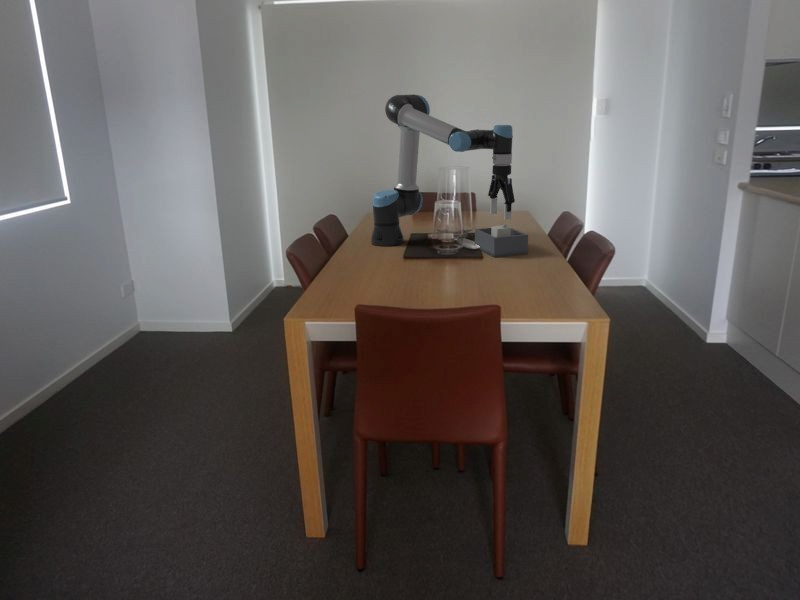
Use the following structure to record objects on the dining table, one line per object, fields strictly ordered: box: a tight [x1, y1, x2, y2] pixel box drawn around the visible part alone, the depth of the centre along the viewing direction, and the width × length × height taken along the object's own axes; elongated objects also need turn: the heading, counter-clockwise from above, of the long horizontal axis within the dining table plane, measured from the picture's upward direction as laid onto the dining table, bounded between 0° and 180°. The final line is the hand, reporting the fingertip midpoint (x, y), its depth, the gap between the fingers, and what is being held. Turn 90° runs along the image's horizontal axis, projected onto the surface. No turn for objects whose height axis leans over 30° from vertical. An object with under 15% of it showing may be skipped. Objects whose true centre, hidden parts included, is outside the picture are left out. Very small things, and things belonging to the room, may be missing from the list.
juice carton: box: [490, 224, 512, 237], centre depth 251 cm, size 6×6×10 cm
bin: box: [474, 227, 529, 258], centre depth 252 cm, size 20×15×8 cm
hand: (500, 216), depth 249 cm, fingers open, 13 cm apart
